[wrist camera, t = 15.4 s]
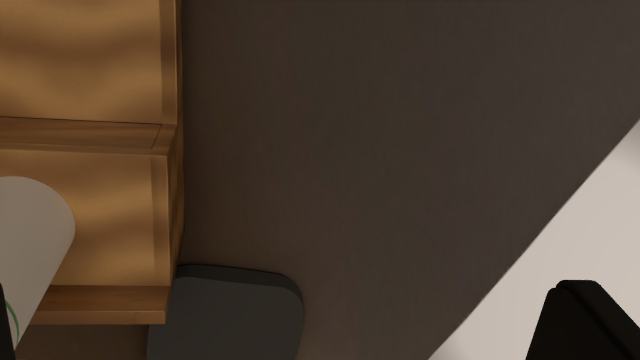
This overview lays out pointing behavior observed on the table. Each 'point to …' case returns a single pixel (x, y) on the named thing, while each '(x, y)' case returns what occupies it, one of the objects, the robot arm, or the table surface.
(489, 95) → the table surface
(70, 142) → the step shelf
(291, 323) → the media streaming box
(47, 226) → the cylindrical container
